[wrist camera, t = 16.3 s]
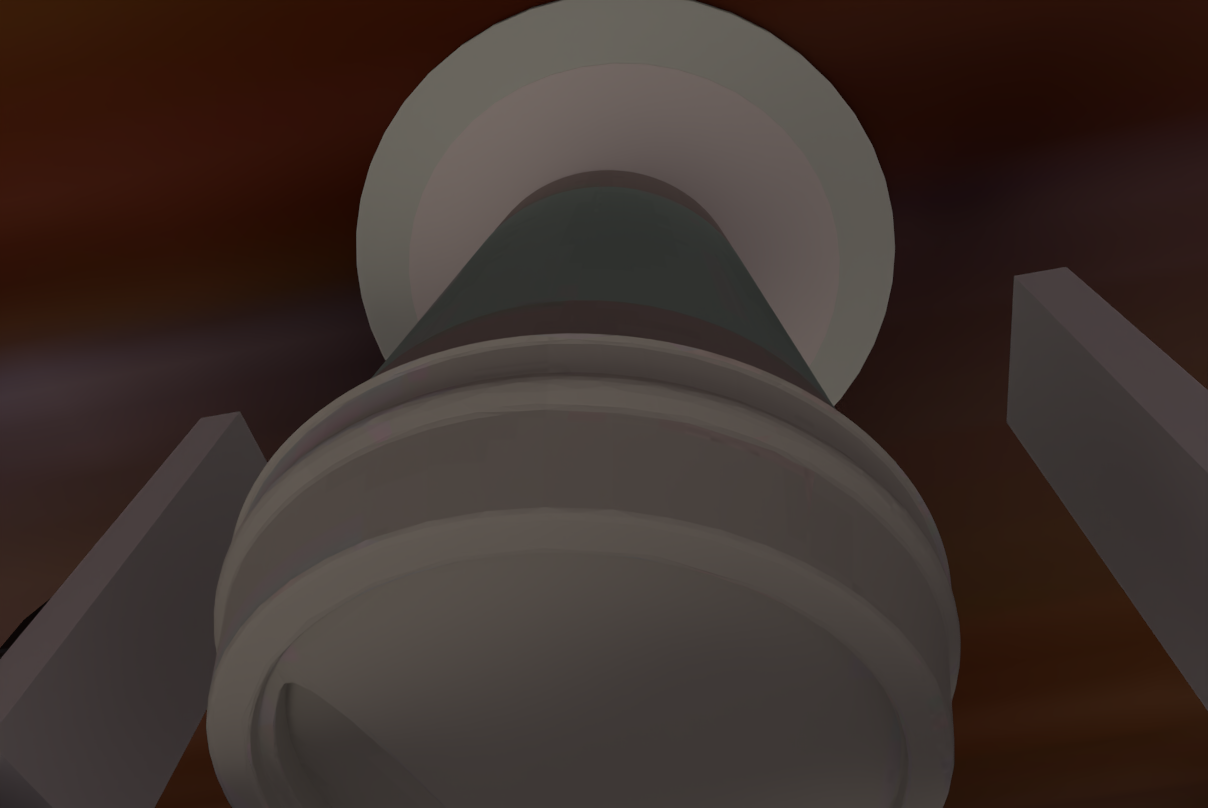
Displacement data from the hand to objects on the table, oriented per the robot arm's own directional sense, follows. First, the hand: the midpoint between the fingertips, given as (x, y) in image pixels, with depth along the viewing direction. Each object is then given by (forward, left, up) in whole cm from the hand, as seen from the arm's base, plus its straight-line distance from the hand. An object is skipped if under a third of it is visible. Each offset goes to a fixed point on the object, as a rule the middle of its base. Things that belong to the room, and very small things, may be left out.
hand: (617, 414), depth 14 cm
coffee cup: (0, 0, -5) cm, 5 cm away
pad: (0, 0, -6) cm, 6 cm away
